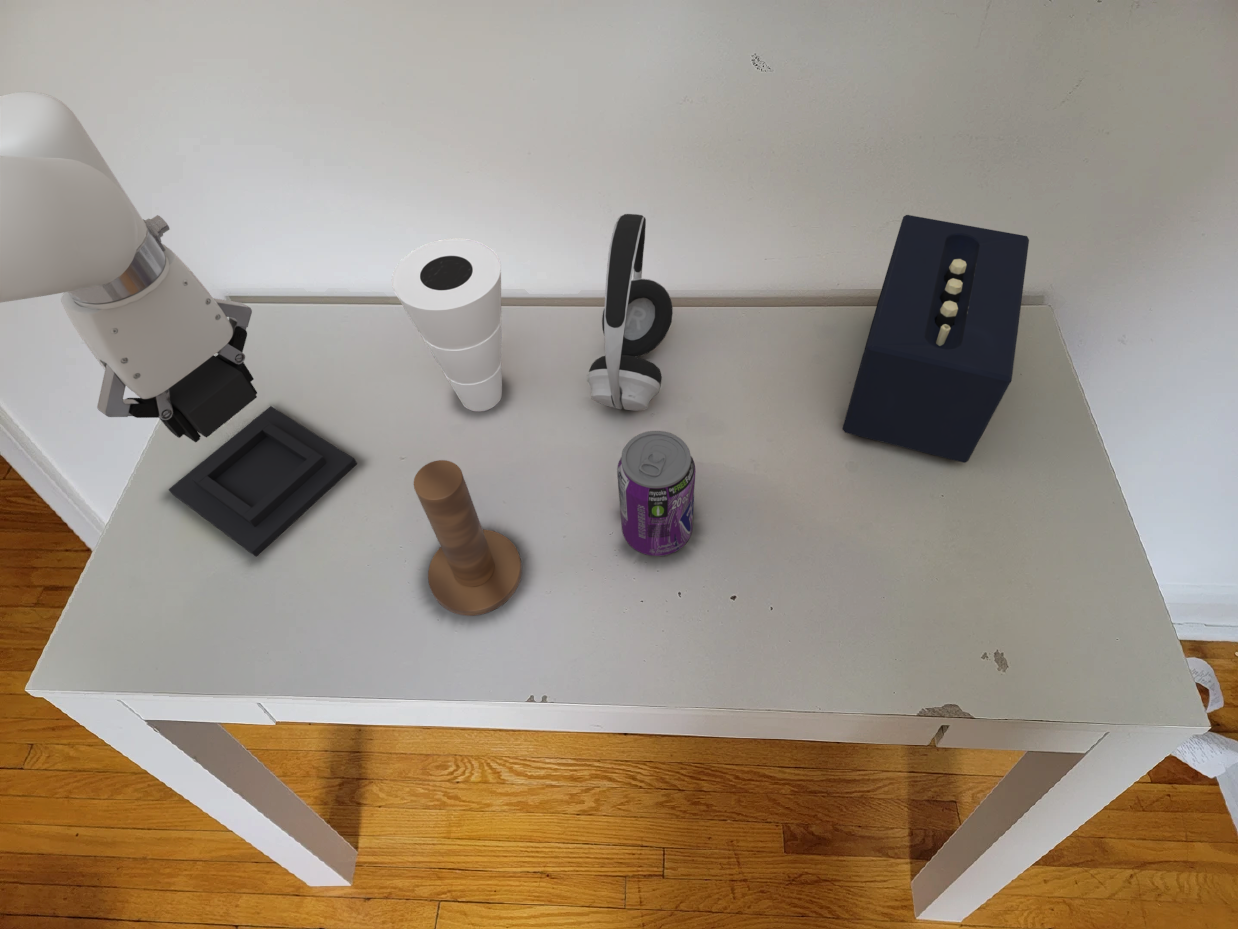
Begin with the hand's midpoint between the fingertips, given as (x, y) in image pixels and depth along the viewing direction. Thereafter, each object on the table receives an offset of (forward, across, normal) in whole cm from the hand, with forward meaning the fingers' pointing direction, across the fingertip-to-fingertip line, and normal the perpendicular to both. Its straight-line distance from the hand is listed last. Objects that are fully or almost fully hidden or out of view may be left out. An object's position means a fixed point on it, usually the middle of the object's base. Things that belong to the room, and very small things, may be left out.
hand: (217, 410), depth 74 cm
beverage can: (+11, -18, +39) cm, 45 cm away
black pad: (-1, 0, 0) cm, 1 cm away
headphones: (+12, -34, +25) cm, 44 cm away
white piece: (+12, -22, +12) cm, 28 cm away
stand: (+11, -4, +27) cm, 30 cm away
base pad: (+11, 0, 0) cm, 11 cm away
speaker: (+12, -50, +53) cm, 74 cm away
